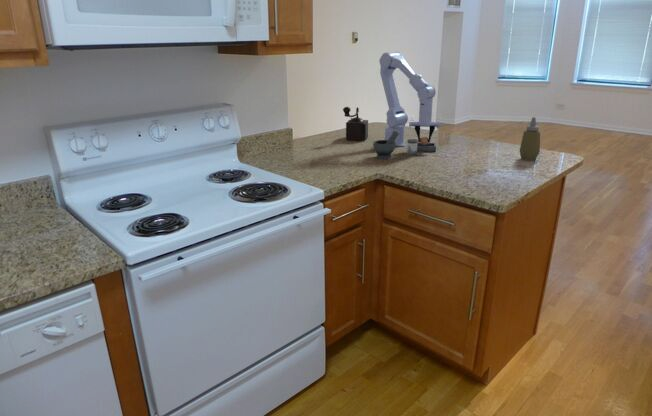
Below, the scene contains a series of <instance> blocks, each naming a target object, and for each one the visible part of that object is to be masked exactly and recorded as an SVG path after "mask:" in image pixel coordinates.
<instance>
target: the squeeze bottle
mask: <svg viewBox="0 0 652 416" xmlns="http://www.w3.org/2000/svg"><path fill="white" fill-rule="evenodd" d="M536 119H537V118H536V116H532V117H531V120H530V123H529V125H526V130H524V131H523V134H522V139H521V142H520V147H519V154H520V159H521V160H523V161H532V162H533V161H536V160H537V158H538V156H539V155H540V151H541V149H540V148H541V132H540V130H539V128H540V126H538V125H537V120H536Z"/></svg>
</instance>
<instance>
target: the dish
mask: <svg viewBox="0 0 652 416" xmlns="http://www.w3.org/2000/svg"><path fill="white" fill-rule="evenodd" d="M436 150H437V143H436V142H430V143H429V142H428V143H427V144H426V145H422V144H421V143H420V142H418V143H417V152H423V151H427V153H428V151H429V153H435V152H436Z"/></svg>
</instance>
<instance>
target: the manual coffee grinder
mask: <svg viewBox="0 0 652 416" xmlns="http://www.w3.org/2000/svg"><path fill="white" fill-rule="evenodd" d="M355 109H356V110H355V114H352V115H351V114H350V112H351V111H352V110H351V107H349V106H345V107H343V109H342V112H343V113H344V117H345V118H346V117H347V118H350V119H348V121H347V122H346V123H345V141H350V142H366V141H367V139H368V138H369V120H368V119H363V118H361V117H359V111H360V110H359V109H360V108H359V107H356V108H355ZM365 140H366V141H365Z"/></svg>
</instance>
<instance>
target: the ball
mask: <svg viewBox="0 0 652 416" xmlns="http://www.w3.org/2000/svg"><path fill="white" fill-rule="evenodd" d="M428 140H429V137H427V136H421V137H420V142H419V143H421V144H422V145H426V144H427V143H429V142H428Z"/></svg>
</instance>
